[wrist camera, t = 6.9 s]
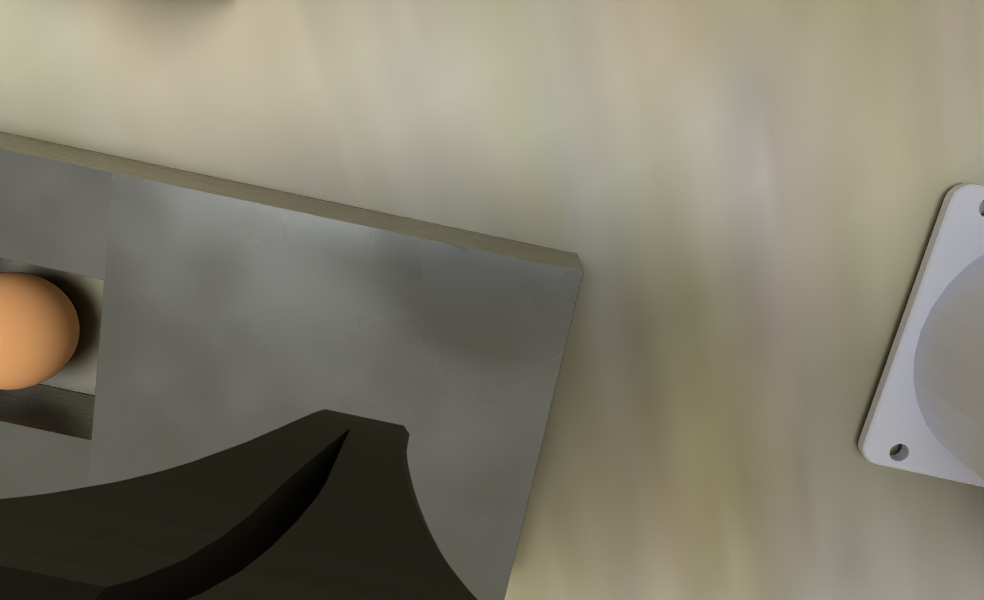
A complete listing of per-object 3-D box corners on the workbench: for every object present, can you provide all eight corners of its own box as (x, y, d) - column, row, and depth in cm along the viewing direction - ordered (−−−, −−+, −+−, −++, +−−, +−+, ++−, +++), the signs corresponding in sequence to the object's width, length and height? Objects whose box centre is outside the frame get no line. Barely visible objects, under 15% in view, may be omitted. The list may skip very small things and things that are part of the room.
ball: (-67, 257, 20) (66, 259, 22) (-70, 367, 21) (60, 360, 23) (-50, 292, 18) (97, 291, 20) (-53, 415, 19) (88, 401, 21)
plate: (576, 254, 21) (582, 272, 18) (503, 566, 23) (499, 618, 21) (-59, 119, 21) (-137, 119, 18) (-66, 444, 23) (-137, 483, 21)
